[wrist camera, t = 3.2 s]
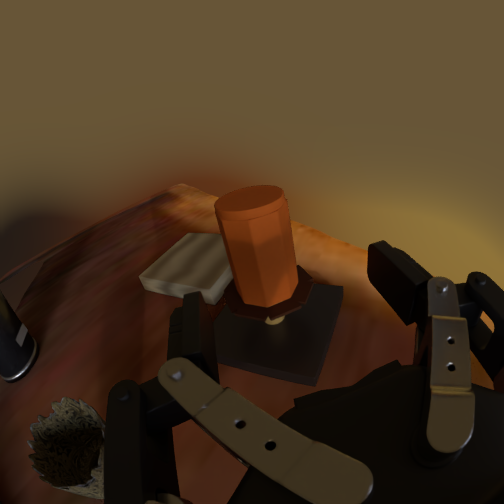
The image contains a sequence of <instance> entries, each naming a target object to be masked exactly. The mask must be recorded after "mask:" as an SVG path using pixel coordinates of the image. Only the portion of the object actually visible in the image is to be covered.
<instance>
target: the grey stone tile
mask: <svg viewBox="0 0 504 504" xmlns="http://www.w3.org/2000/svg"><path fill="white" fill-rule="evenodd" d="M139 278H140V280H141V282H142V284H143V286H144V288H145V290H149V291H153V292H157V293H161V294H166V295H170V296H174V297H179V298H183V295H184V294H188V293H192V292H196V291H201V293H202V296H203V298H204V301H205V303H207V304H212V305H216V303H217V302H218V301H219V300H220V298H221V297H222V296H223V294H224V289H225V288H226V287H227V285H228V284H229V283H230V281H231V280H232V279H233V274H232V271H231V267H230V264H229V260H228V257H227V253H226V250H225V246H224V243H223V239H222V235H221V234H207V233H188V234H186V235H185V236H184V237H183V238H182V239H181V240H179V241H178V242H177V243H176V244H175V245H174V246H172V247H171V248H170V249H169V250H168V251H167V252H166V253H164V254H163V255H162V256H161V257H160V258H159V259H158V260H156V261H155V262H154V263H153V264H152V265H151V266H150V267H149V268H147V269H146V270H145V271H144V272H143V273H142V274H141V275H140V276H139Z"/></svg>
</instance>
